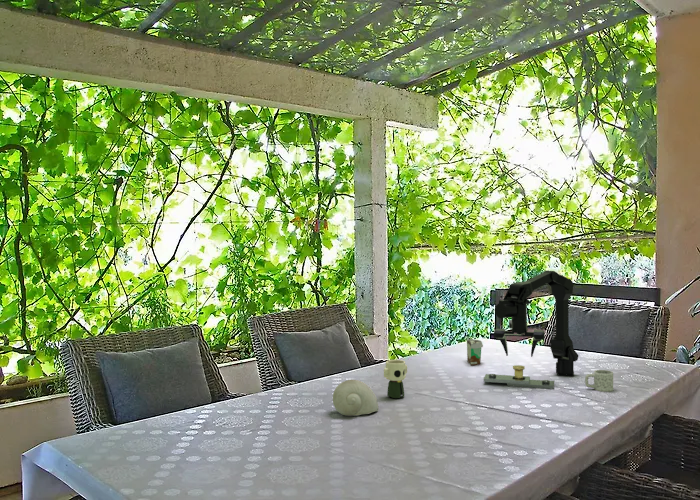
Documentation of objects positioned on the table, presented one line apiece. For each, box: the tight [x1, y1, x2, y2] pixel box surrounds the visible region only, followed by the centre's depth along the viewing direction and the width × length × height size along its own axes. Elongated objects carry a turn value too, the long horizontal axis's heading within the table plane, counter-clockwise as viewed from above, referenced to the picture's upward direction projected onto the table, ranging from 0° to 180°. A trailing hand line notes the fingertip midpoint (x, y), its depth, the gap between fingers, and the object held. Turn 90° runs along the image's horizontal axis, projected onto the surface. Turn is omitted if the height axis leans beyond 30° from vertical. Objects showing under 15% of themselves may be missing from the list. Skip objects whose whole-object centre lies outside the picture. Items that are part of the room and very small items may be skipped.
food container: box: [466, 338, 484, 367], centre depth 293 cm, size 12×6×10 cm, turn 179°
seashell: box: [332, 379, 379, 417], centre depth 221 cm, size 15×14×15 cm
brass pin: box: [512, 364, 526, 380], centre depth 255 cm, size 4×4×7 cm
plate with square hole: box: [483, 373, 555, 390], centre depth 255 cm, size 26×8×3 cm, turn 72°
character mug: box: [383, 359, 408, 399], centre depth 238 cm, size 11×7×13 cm, turn 127°
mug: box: [584, 369, 614, 393], centre depth 245 cm, size 10×7×7 cm, turn 84°
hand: (519, 356), depth 255 cm, fingers open, 9 cm apart
